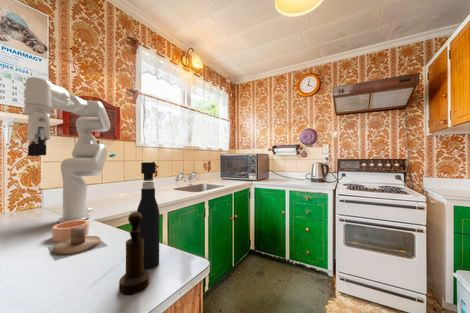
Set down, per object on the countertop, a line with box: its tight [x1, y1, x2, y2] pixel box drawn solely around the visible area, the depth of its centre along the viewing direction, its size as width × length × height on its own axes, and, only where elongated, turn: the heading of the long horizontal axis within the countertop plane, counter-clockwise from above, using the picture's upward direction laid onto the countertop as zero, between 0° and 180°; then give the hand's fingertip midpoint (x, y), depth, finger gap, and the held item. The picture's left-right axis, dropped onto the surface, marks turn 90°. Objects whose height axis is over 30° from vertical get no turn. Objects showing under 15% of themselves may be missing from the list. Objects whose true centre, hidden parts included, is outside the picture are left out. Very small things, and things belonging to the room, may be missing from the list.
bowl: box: [51, 219, 90, 243], centre depth 80 cm, size 11×11×5 cm
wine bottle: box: [136, 161, 161, 271], centre depth 59 cm, size 6×6×30 cm
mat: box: [47, 239, 108, 261], centre depth 70 cm, size 14×14×1 cm
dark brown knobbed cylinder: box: [118, 211, 150, 296], centre depth 49 cm, size 7×6×18 cm
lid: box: [53, 227, 101, 255], centre depth 70 cm, size 13×13×6 cm
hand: (36, 155), depth 77 cm, fingers open, 9 cm apart
